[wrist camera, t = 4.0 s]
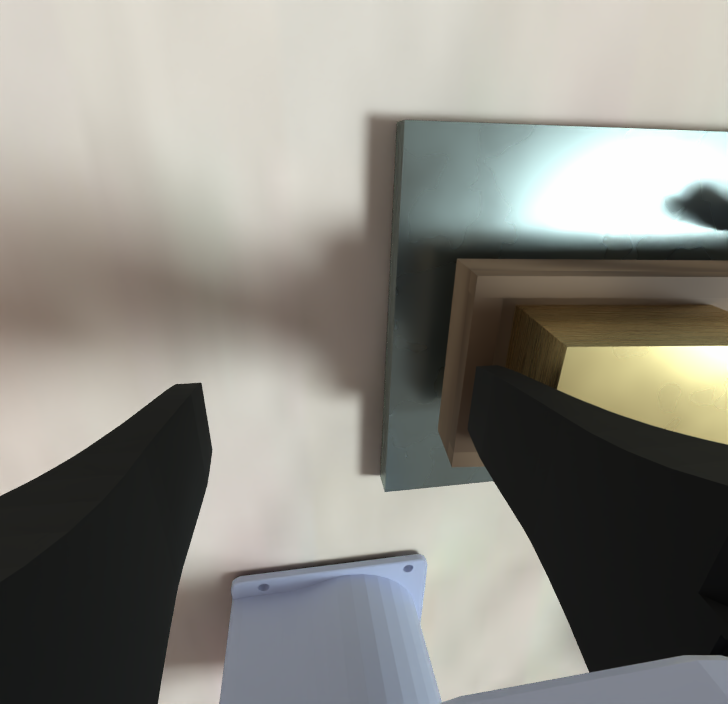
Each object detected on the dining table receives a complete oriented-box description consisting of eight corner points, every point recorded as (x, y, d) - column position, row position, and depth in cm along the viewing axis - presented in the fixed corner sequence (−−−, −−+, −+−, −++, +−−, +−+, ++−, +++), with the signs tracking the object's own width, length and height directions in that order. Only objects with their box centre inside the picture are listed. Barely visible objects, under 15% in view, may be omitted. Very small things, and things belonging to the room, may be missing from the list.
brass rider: (493, 430, 14) (531, 495, 11) (515, 304, 12) (567, 347, 10) (664, 427, 15) (740, 489, 12) (711, 304, 13) (813, 345, 10)
